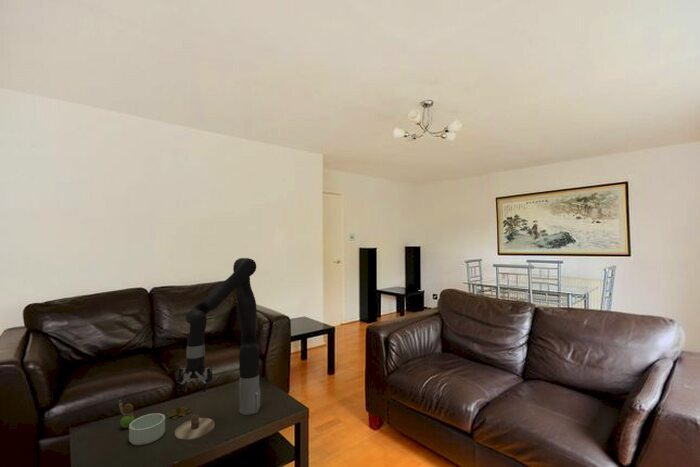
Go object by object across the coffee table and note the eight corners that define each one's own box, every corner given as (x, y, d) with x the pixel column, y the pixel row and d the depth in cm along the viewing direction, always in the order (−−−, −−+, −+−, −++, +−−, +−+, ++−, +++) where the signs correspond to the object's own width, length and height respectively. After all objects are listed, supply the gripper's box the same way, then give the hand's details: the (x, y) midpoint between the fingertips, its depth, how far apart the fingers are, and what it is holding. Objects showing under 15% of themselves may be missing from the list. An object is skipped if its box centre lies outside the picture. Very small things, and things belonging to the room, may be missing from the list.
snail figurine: (122, 424, 150) (122, 397, 150) (137, 423, 151) (137, 397, 151) (114, 431, 145) (115, 403, 145) (130, 430, 145) (130, 402, 145)
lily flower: (172, 423, 151) (172, 413, 151) (159, 416, 158) (159, 406, 158) (196, 412, 161) (196, 403, 161) (184, 405, 168) (184, 396, 168)
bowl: (170, 427, 147) (170, 413, 147) (154, 445, 134) (154, 429, 134) (141, 428, 146) (141, 413, 147) (121, 446, 133) (122, 430, 134)
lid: (219, 419, 154) (219, 406, 154) (205, 440, 138) (206, 425, 138) (185, 420, 153) (185, 407, 154) (167, 441, 137) (167, 426, 138)
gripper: (214, 351, 151) (214, 387, 150) (183, 352, 150) (182, 387, 150) (208, 357, 143) (207, 395, 143) (175, 357, 143) (174, 395, 142)
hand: (195, 391), depth 146 cm, fingers open, 8 cm apart
